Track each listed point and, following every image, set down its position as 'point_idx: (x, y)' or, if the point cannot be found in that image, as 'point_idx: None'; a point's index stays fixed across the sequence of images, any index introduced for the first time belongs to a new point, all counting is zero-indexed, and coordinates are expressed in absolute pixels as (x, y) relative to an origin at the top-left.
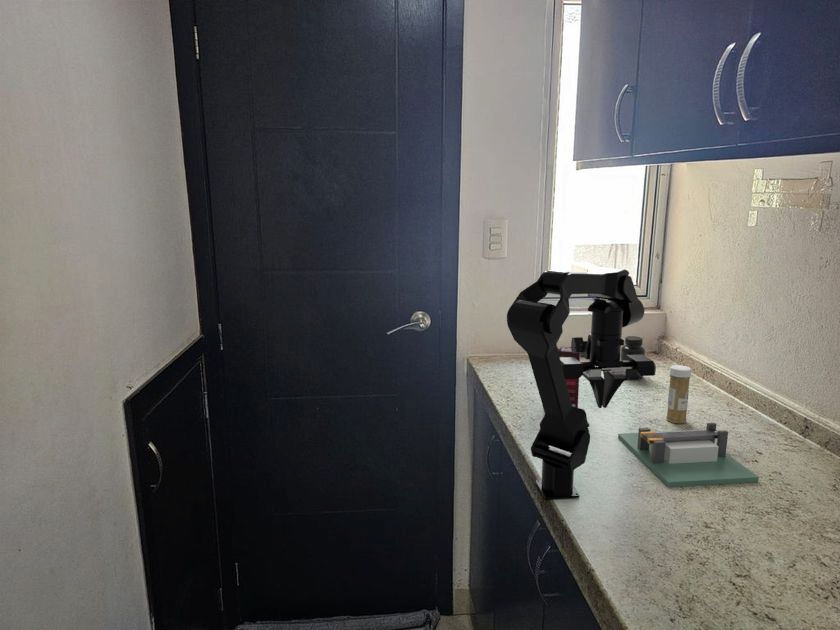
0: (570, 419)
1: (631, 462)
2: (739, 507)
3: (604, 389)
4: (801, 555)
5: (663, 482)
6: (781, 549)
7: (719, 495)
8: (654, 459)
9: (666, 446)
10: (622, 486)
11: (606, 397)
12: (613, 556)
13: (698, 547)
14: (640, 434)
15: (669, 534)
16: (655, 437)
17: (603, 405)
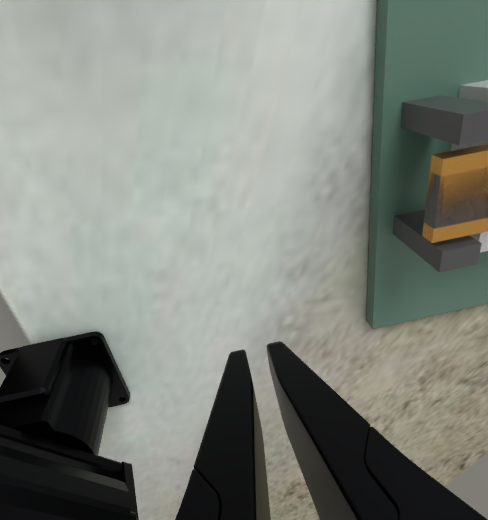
0: None
1: (333, 191)
2: (463, 369)
3: (321, 476)
4: (449, 458)
5: (367, 304)
6: (434, 453)
7: (459, 335)
8: (401, 239)
9: None
10: (253, 331)
11: (300, 462)
12: (175, 512)
13: None
14: (435, 160)
15: (285, 457)
16: (471, 214)
17: (271, 368)
